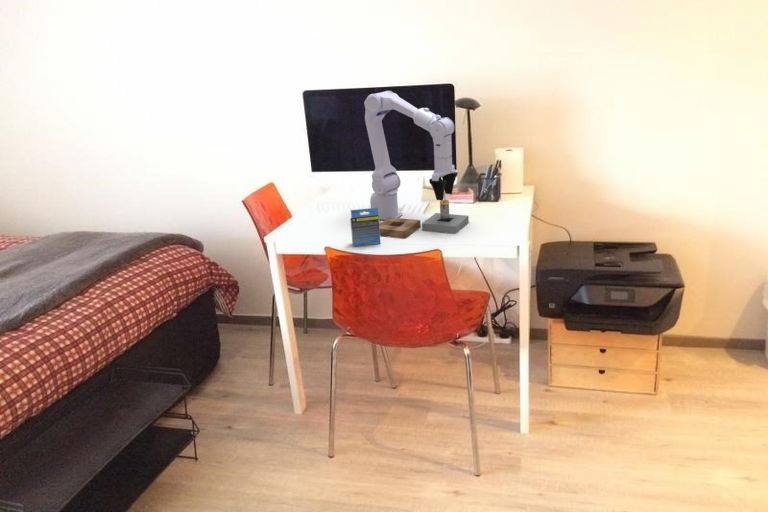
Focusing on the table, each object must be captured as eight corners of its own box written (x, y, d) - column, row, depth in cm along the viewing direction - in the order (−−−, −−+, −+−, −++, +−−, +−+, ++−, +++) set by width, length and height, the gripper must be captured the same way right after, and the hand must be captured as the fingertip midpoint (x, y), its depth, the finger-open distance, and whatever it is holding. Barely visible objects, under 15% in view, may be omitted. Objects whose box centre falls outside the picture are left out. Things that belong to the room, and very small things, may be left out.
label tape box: (379, 240, 198) (376, 203, 194) (380, 244, 194) (378, 207, 190) (352, 243, 197) (348, 206, 193) (353, 247, 193) (350, 210, 189)
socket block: (373, 234, 203) (372, 227, 202) (389, 223, 213) (389, 217, 212) (405, 238, 198) (404, 231, 197) (420, 227, 208) (420, 220, 207)
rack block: (422, 230, 204) (421, 223, 203) (436, 219, 214) (436, 212, 213) (455, 233, 199) (455, 226, 198) (468, 222, 208) (468, 215, 208)
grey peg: (439, 227, 206) (438, 202, 202) (442, 224, 208) (441, 199, 205) (448, 228, 205) (447, 202, 201) (450, 225, 207) (449, 199, 204)
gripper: (445, 162, 190) (447, 203, 195) (462, 152, 202) (463, 191, 207) (425, 161, 193) (427, 202, 198) (443, 151, 205) (444, 190, 210)
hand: (444, 196), depth 203 cm, fingers open, 7 cm apart
